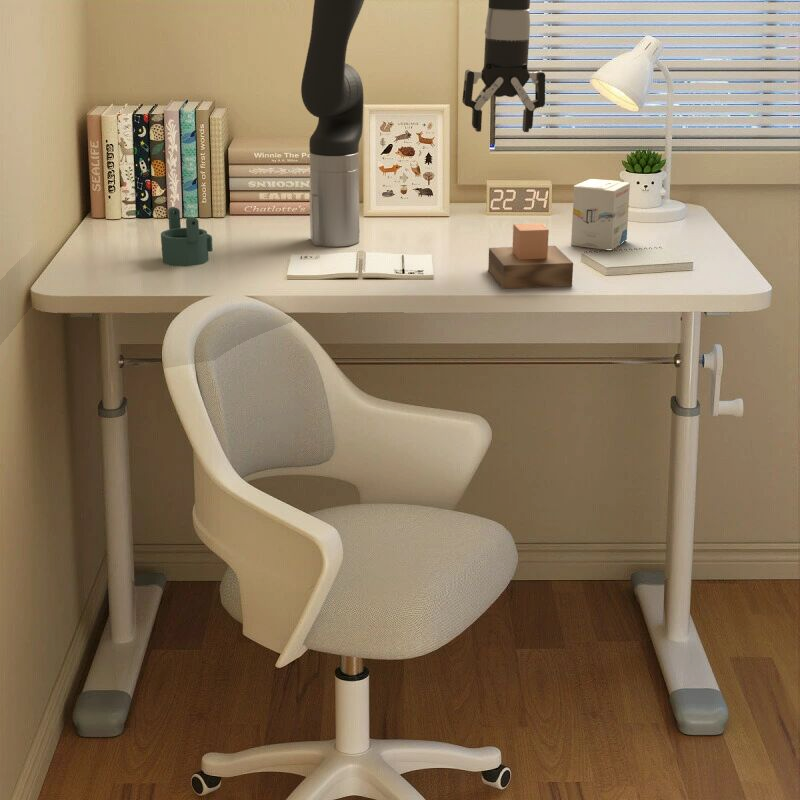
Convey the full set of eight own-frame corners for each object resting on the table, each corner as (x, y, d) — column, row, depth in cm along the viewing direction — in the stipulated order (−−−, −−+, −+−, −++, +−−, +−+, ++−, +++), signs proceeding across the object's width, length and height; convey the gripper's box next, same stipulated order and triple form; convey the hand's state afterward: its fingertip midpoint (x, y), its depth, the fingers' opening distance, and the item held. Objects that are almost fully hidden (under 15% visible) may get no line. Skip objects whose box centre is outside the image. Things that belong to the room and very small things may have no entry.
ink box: (586, 236, 246) (590, 177, 242) (627, 241, 242) (631, 181, 238) (569, 245, 239) (572, 184, 235) (611, 251, 235) (615, 189, 231)
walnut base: (503, 288, 211) (503, 265, 210) (488, 269, 222) (489, 247, 221) (572, 285, 213) (573, 263, 212) (554, 267, 224) (555, 245, 223)
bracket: (196, 268, 223) (194, 219, 220) (151, 263, 226) (148, 214, 223) (220, 257, 231) (218, 209, 228) (176, 252, 234) (174, 204, 231)
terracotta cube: (518, 259, 214) (519, 230, 212) (512, 252, 218) (513, 223, 216) (547, 258, 214) (548, 229, 212) (540, 251, 219) (541, 223, 217)
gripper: (470, 37, 210) (465, 135, 216) (553, 39, 212) (546, 135, 218) (462, 33, 217) (458, 127, 223) (543, 34, 219) (536, 128, 225)
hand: (501, 131), depth 220 cm, fingers open, 8 cm apart
